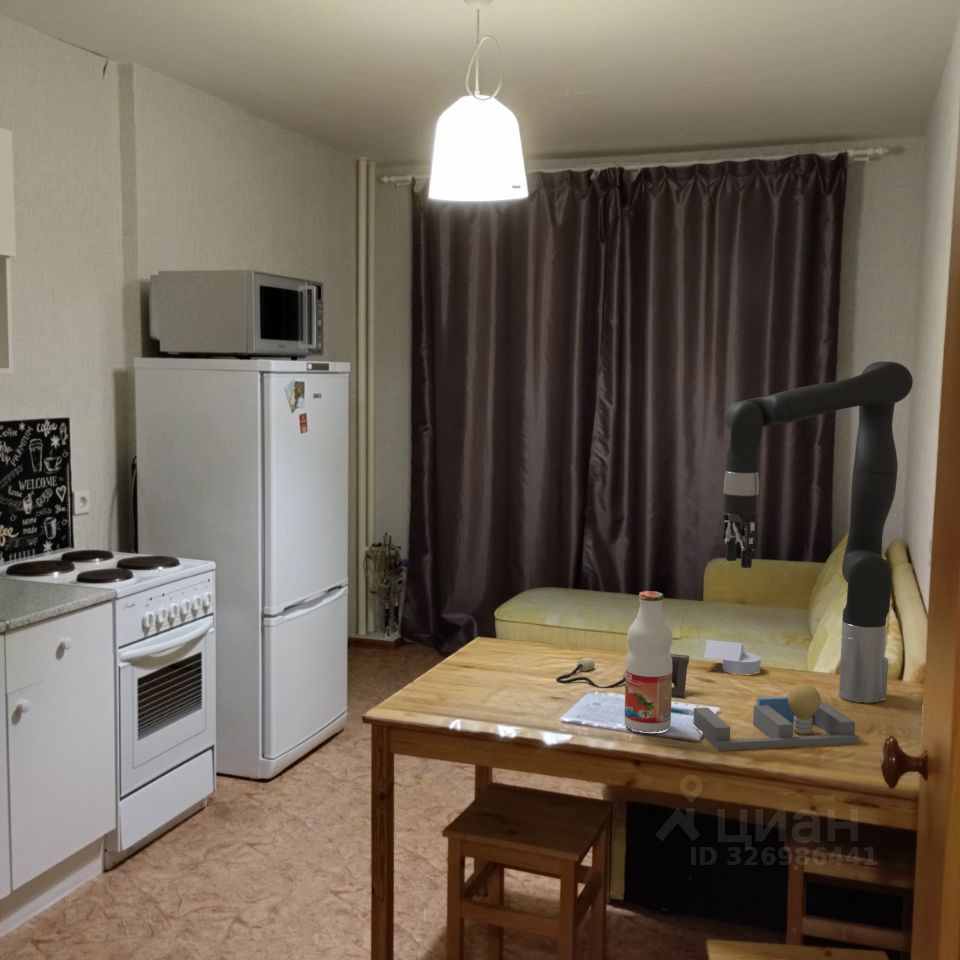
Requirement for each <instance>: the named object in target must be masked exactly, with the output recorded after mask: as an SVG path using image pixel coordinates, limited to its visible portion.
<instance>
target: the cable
mask: <svg viewBox="0 0 960 960" xmlns="http://www.w3.org/2000/svg"><path fill="white" fill-rule="evenodd" d="M576 664H577V665H576V667H575V668H574V670H572V671H571V672H570V673H567V674H563V675H560V676H558V677H557V678H556V679H555V681H556V682H557V683H561V684H568V683H573V682H576V681H578V682H579V681H586V682H588V683H589V684H590V685H591V686H592V687H594V688H598V689H611V688H615V687H618V686H620V685H622V684H623V683H625V680H626V669H625V670H624V671H623V672H622V679H621V680H619V681H617V682H616V683H613V684H610V685H607V686H599V685H597V684H596V683H595V682H594V681H592V679H590V678H589V677H587V676H578V677H574V678H570V677H572V675H575V674H576V673H577V672H578V671H580V672H588V671H591V670H594V669H595V666H596V665H595V660H594V659H593V658H592V657H585V658H580V659H578V660H577V663H576ZM566 678H570V679H566ZM563 679H564V680H563Z"/></svg>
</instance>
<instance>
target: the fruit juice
mask: <svg viewBox="0 0 960 960" xmlns="http://www.w3.org/2000/svg"><path fill="white" fill-rule="evenodd" d="M663 601H664V593H661V592H658V591H654V590H653V591H651V590H645V591H640V592H639V594H638V602H639V609H638V612H637V616H635V619H634V621H633V622H632V623H631V625H629V627H628V630H627V636H626V637H627V638H626V639H627V643H628V649H629V650H628V652H627V654H626V659H625V661H626V662H625V670H626V680H625V682H624V684H625V685H624V686H625V687H624V721H623V722H624V725H626V726H627V727H629V728H630V729H633V730H636V731H642V732H654V731H655V732H659V731H663V730H666V729H668V728H669V727H670V728H671V724H672V723H671V721H672V696H671V695H672V687H673V683H672V657H671V655H670V654H671V646H672V643H673V631H672V629H671V628H670V626H669V624H668V623H667V621H666V620H665V617H664V613H663V608H662V603H663ZM626 726H625V727H626ZM627 727H626V728H627ZM670 728H669V729H670Z"/></svg>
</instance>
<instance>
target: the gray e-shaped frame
mask: <svg viewBox="0 0 960 960" xmlns="http://www.w3.org/2000/svg"><path fill="white" fill-rule="evenodd" d="M794 716H795V714H794V713H793V711H792V710H791V708H790V706H789V704H788V696H768V697H764V696H763V697H757V698H756V705H753V720H752V724H753V725H754V726H755V728H756V729H758V730H759V731H760V732H761V733H763V734H764V735H766V737H761V738H758V737H756V738H755V737H754V738H739V739H731V726H730V725H729V724H727V723H726V722H725V721H724V720H723V719H722V718H721V717H719V716H718V715H717V714H716V713H715V712H714V711H712V709H710V708H709V707H694V708H693V721H692V722H693V723H692V725H693V724H694V725H695V726H696V727H697V728H698V729H699V730H701V731H702V732H703V735H704V737H705V738H706V739H707V740H706V739H705V738H704V737H703V738H704V739H705V740H706V741H709V742H708V743H709V744H710V745H711V746H713V747H714V749H715V750H717V751H720V752H721V751H737V750H738V751H739V750H756V749H778V748H782V749H783V748H798V747H801V748H802V747H820V746H822V747H823V746H841V745H858V744H859V736H858V734H855V731H856V730H855V729H856V728H855V727H856V721H855V720H853V719H852V718H850V717H849V716H848V715H846V714H844V713H843V712H841V711H840V710H838V709H837V708H835V707H834V706H832V705H831V704H829V703H828V702H821V703H820V706H819V709H818V710H817V711H816V713H815V714H814V715H813V716H812V718H813V722H812V724H815V725H816V726H817V727H819V728H820V729H821V730H822V731H824V732H825V733H827V735H825V734H823V735H805V736H804V735H803V736H802V735H801V736H794V730H793V726H794V725H793V723H792V722H794Z"/></svg>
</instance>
